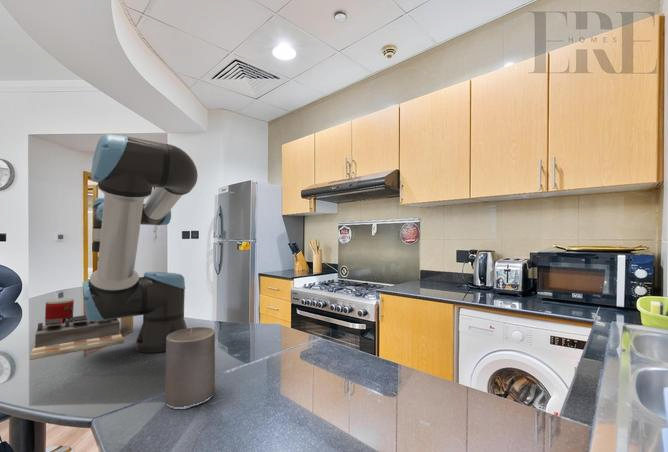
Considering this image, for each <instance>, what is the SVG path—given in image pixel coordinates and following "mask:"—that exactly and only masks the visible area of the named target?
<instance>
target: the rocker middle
mask: <svg viewBox="0 0 668 452" xmlns="http://www.w3.org/2000/svg"><path fill="white" fill-rule="evenodd" d="M85 320H88V319H87V318H86V314H85V315H78V316H77V315H76V316H73V322H78V321H85Z"/></svg>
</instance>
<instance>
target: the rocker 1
mask: <svg viewBox="0 0 668 452" xmlns="http://www.w3.org/2000/svg"><path fill="white" fill-rule="evenodd" d="M61 323H62V318H60V319H52V320H46V325H54V324H61Z"/></svg>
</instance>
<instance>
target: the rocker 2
mask: <svg viewBox="0 0 668 452" xmlns="http://www.w3.org/2000/svg"><path fill="white" fill-rule="evenodd" d="M107 322H112V319H110V320H107V321H98V324H100V323H107Z"/></svg>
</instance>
